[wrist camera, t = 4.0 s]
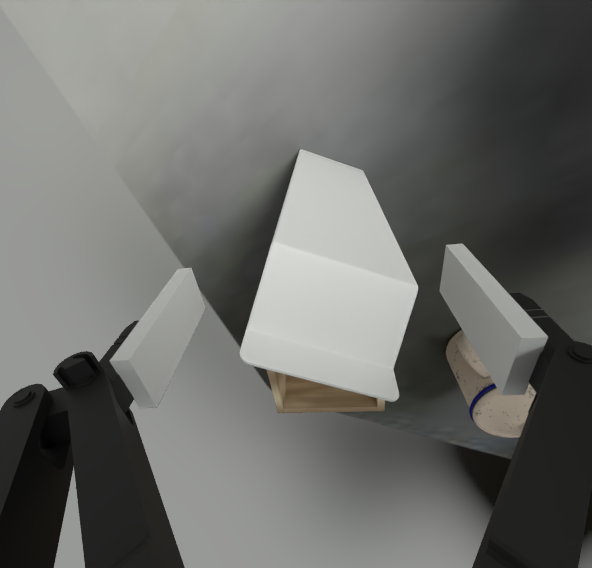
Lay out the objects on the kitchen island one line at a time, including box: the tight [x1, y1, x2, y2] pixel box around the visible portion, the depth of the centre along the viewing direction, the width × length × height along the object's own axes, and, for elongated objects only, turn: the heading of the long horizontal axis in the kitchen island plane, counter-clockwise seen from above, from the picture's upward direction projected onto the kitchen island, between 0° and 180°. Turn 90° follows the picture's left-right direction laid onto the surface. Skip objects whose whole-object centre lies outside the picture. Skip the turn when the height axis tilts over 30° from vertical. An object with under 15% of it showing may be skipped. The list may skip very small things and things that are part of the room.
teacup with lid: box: [446, 330, 536, 437], centre depth 33 cm, size 12×9×12 cm
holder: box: [266, 369, 385, 413], centre depth 36 cm, size 13×13×6 cm
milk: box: [239, 149, 418, 402], centre depth 20 cm, size 6×6×22 cm
